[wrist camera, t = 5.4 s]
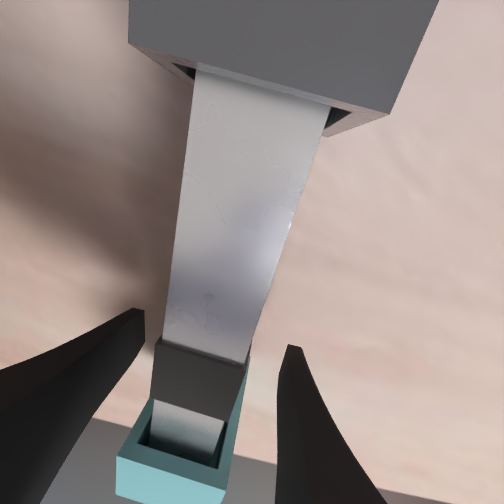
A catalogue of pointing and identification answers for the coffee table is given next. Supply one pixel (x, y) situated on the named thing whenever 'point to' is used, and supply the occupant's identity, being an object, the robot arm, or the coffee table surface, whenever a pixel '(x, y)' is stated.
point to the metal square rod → (226, 251)
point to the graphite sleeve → (291, 47)
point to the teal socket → (174, 465)
